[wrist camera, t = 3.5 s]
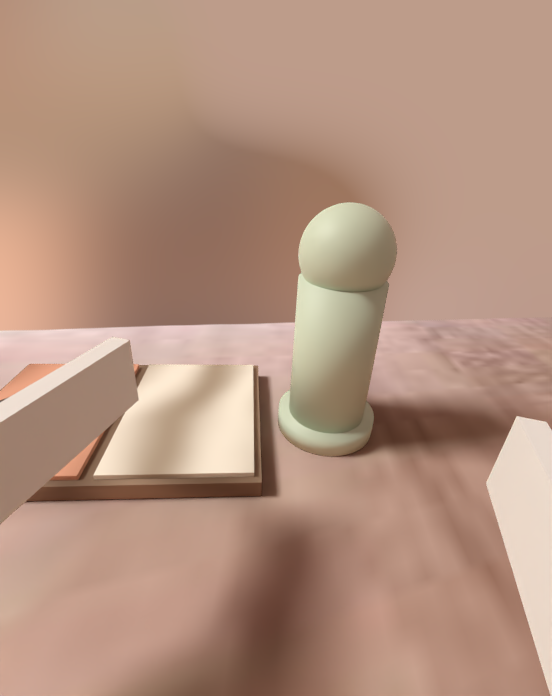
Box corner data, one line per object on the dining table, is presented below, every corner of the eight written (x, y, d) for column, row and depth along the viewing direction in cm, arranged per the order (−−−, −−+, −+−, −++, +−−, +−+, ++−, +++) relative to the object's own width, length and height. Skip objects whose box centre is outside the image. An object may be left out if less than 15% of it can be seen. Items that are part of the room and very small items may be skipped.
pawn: (387, 422, 25) (438, 206, 18) (338, 473, 21) (382, 214, 14) (313, 386, 29) (334, 195, 22) (258, 423, 24) (264, 199, 18)
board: (257, 375, 29) (258, 362, 29) (261, 495, 19) (261, 478, 18) (32, 375, 28) (27, 361, 28) (-101, 503, 18) (-113, 485, 17)
